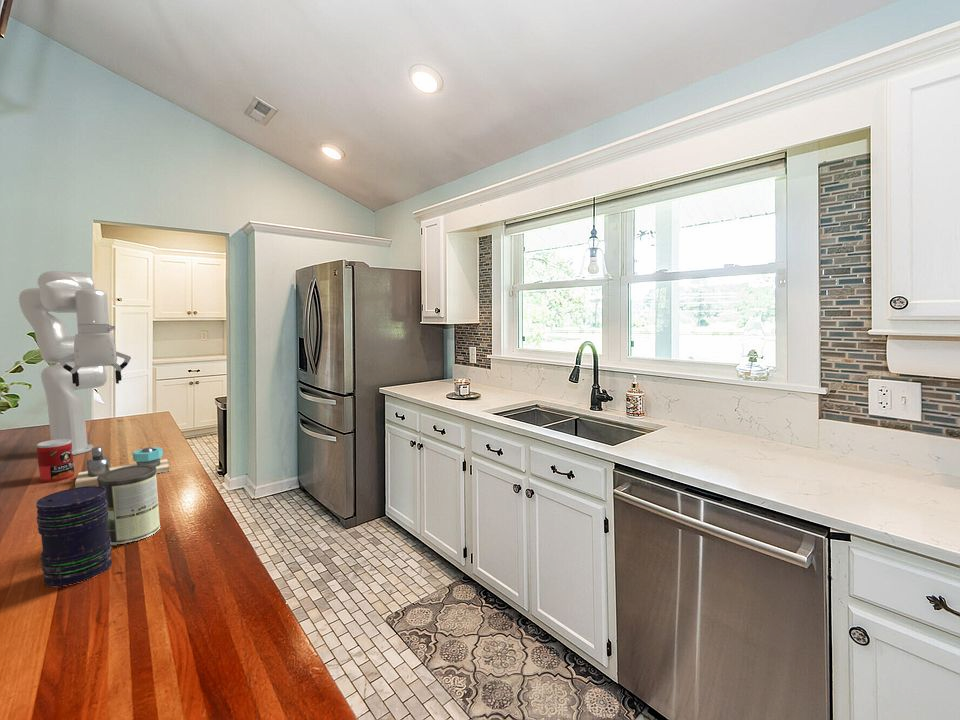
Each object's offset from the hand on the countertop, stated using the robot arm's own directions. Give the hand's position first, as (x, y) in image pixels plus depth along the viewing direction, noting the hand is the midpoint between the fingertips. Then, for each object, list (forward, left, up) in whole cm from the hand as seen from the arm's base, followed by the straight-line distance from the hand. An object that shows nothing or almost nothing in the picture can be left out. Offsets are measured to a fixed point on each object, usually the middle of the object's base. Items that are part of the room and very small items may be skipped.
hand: (97, 384), depth 144 cm
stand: (+11, -1, -25) cm, 28 cm away
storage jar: (+74, -1, -27) cm, 79 cm away
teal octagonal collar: (+12, +11, -23) cm, 28 cm away
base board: (+11, +5, -27) cm, 30 cm away
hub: (+11, +11, -25) cm, 30 cm away
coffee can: (+61, +7, -27) cm, 68 cm away
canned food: (+3, -11, -27) cm, 29 cm away
